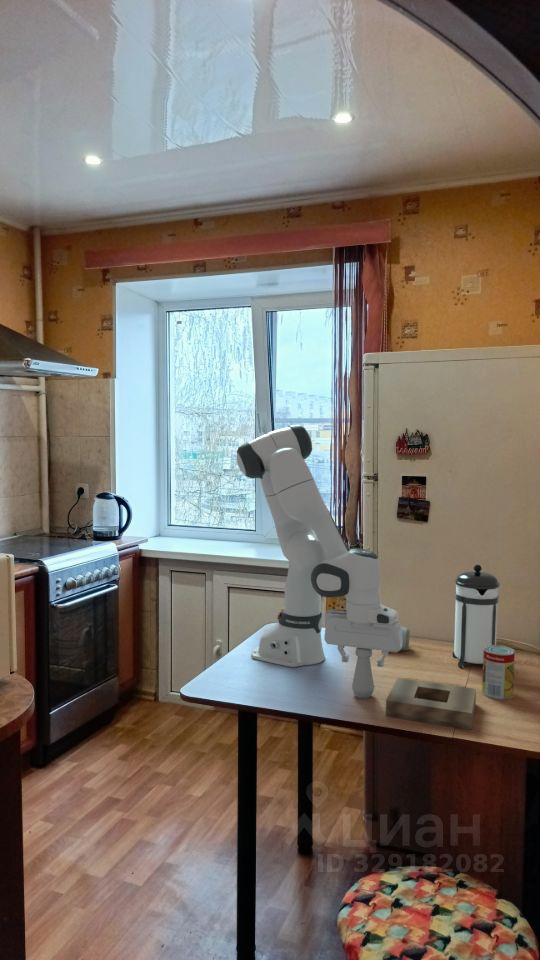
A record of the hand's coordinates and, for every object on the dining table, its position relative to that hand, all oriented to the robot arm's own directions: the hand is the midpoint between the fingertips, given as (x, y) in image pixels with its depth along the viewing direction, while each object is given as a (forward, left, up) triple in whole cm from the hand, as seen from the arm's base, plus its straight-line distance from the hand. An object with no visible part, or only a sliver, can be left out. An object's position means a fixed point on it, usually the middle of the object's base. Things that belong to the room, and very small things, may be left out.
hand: (362, 663), depth 174 cm
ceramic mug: (+1, +43, -9) cm, 44 cm away
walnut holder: (+18, -2, -9) cm, 20 cm away
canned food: (+33, +15, -9) cm, 38 cm away
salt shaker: (0, 0, -9) cm, 9 cm away
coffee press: (+25, +39, -9) cm, 48 cm away
